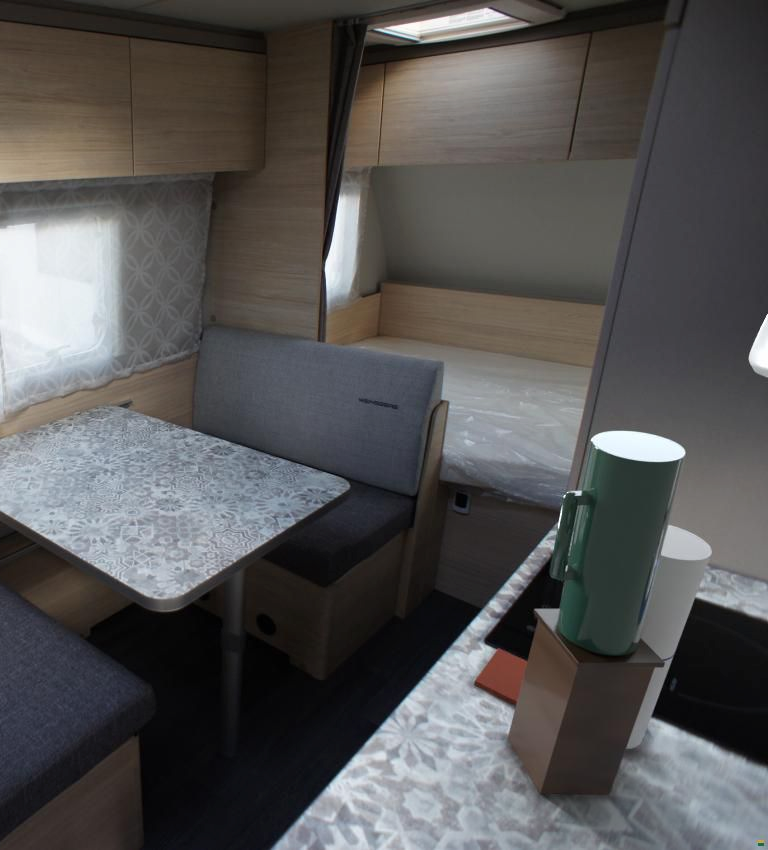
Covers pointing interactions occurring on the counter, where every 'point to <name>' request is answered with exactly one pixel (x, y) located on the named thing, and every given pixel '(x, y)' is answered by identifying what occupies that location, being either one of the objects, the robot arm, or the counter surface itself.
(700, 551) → the cylindrical container
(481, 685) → the pad
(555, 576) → the jug
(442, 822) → the counter surface
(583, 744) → the stand
